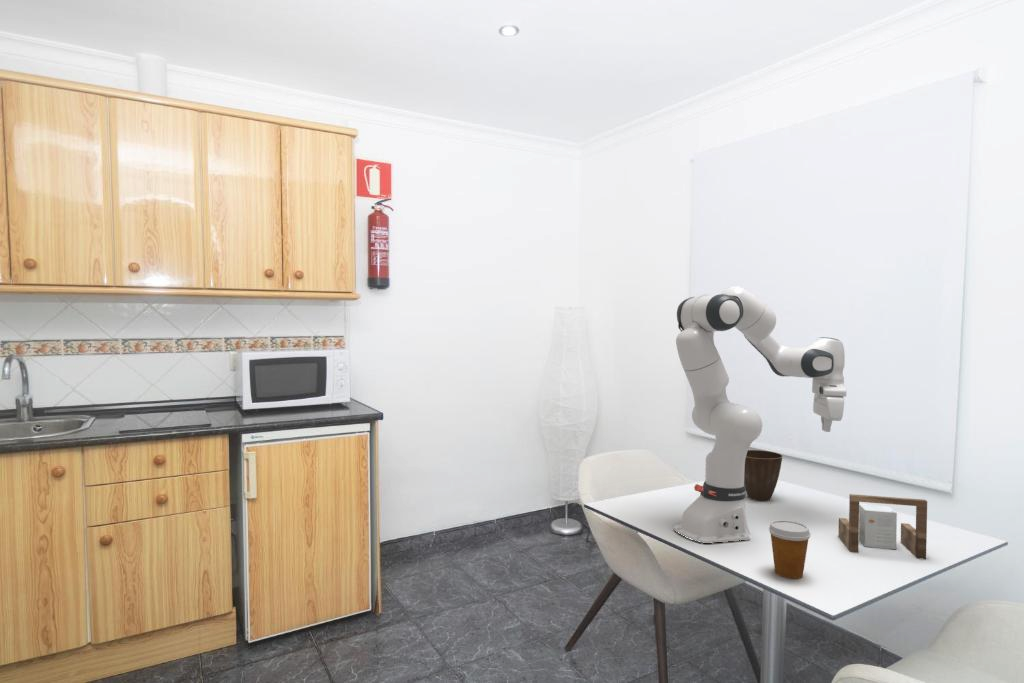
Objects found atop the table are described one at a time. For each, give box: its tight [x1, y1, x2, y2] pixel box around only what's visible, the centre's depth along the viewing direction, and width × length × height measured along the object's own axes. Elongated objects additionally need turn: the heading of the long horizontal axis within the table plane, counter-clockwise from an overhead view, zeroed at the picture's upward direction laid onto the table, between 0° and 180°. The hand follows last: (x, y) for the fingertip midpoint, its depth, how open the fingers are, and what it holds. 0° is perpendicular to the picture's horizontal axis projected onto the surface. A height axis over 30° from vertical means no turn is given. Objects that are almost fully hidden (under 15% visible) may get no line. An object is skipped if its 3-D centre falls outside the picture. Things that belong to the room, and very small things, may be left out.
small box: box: [859, 504, 898, 550], centre depth 163 cm, size 8×6×10 cm
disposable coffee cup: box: [768, 519, 812, 580], centre depth 144 cm, size 10×10×12 cm
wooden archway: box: [837, 493, 928, 560], centre depth 161 cm, size 12×18×16 cm, turn 74°
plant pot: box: [744, 449, 783, 502], centre depth 208 cm, size 15×15×16 cm
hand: (826, 431), depth 185 cm, fingers closed
